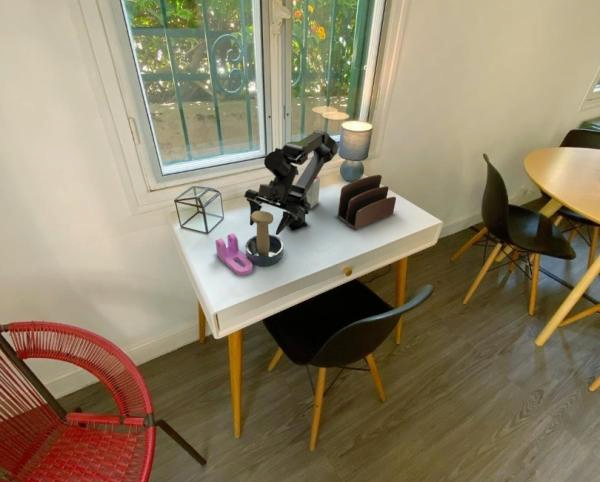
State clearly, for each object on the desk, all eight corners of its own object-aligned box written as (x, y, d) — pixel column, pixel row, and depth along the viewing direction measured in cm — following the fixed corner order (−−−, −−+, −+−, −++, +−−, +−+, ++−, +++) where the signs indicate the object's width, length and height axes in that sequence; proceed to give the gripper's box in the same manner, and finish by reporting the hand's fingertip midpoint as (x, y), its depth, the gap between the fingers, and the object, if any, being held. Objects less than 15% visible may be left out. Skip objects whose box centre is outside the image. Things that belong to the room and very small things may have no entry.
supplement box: (318, 203, 133) (320, 177, 126) (311, 209, 128) (312, 183, 122) (306, 198, 135) (307, 173, 128) (298, 205, 131) (299, 179, 124)
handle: (269, 262, 102) (268, 222, 93) (250, 257, 104) (248, 217, 95) (276, 253, 106) (275, 214, 97) (258, 248, 108) (256, 209, 99)
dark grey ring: (271, 239, 112) (271, 230, 110) (290, 259, 104) (290, 249, 102) (240, 251, 107) (239, 241, 105) (257, 272, 99) (256, 262, 97)
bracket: (217, 255, 105) (214, 238, 101) (232, 248, 108) (230, 231, 104) (240, 277, 97) (239, 259, 93) (256, 269, 100) (255, 251, 96)
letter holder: (336, 217, 125) (340, 183, 117) (374, 203, 134) (381, 171, 126) (354, 230, 118) (360, 196, 110) (393, 214, 128) (401, 182, 120)
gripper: (245, 164, 97) (224, 213, 96) (301, 181, 90) (280, 234, 89) (261, 178, 108) (243, 222, 106) (312, 193, 101) (294, 241, 99)
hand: (263, 229), depth 100 cm, fingers open, 9 cm apart
